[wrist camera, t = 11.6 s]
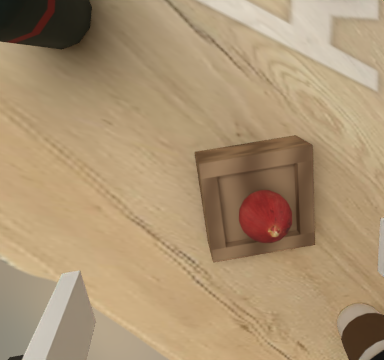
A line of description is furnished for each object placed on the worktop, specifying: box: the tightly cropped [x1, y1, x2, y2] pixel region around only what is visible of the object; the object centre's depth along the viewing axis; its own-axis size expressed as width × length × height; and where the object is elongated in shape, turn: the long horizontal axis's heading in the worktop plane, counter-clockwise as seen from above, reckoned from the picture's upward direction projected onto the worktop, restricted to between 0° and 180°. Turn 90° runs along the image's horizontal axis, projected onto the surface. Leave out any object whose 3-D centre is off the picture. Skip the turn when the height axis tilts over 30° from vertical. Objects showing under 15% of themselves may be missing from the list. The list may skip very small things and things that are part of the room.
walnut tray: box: [195, 135, 315, 262], centre depth 43 cm, size 13×13×5 cm
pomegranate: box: [239, 190, 292, 243], centre depth 37 cm, size 6×6×8 cm
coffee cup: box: [337, 303, 384, 360], centre depth 48 cm, size 11×11×12 cm
